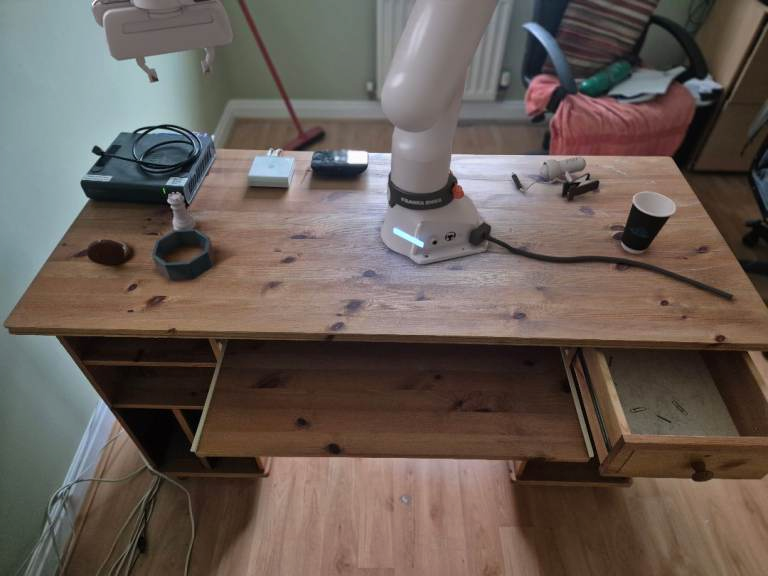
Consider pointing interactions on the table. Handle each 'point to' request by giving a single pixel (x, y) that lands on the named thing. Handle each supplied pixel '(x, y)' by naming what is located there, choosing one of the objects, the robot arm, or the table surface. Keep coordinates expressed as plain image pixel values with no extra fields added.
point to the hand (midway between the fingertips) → (181, 76)
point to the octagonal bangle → (183, 268)
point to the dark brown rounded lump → (108, 252)
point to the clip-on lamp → (566, 167)
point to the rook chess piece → (180, 212)
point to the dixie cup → (646, 220)
